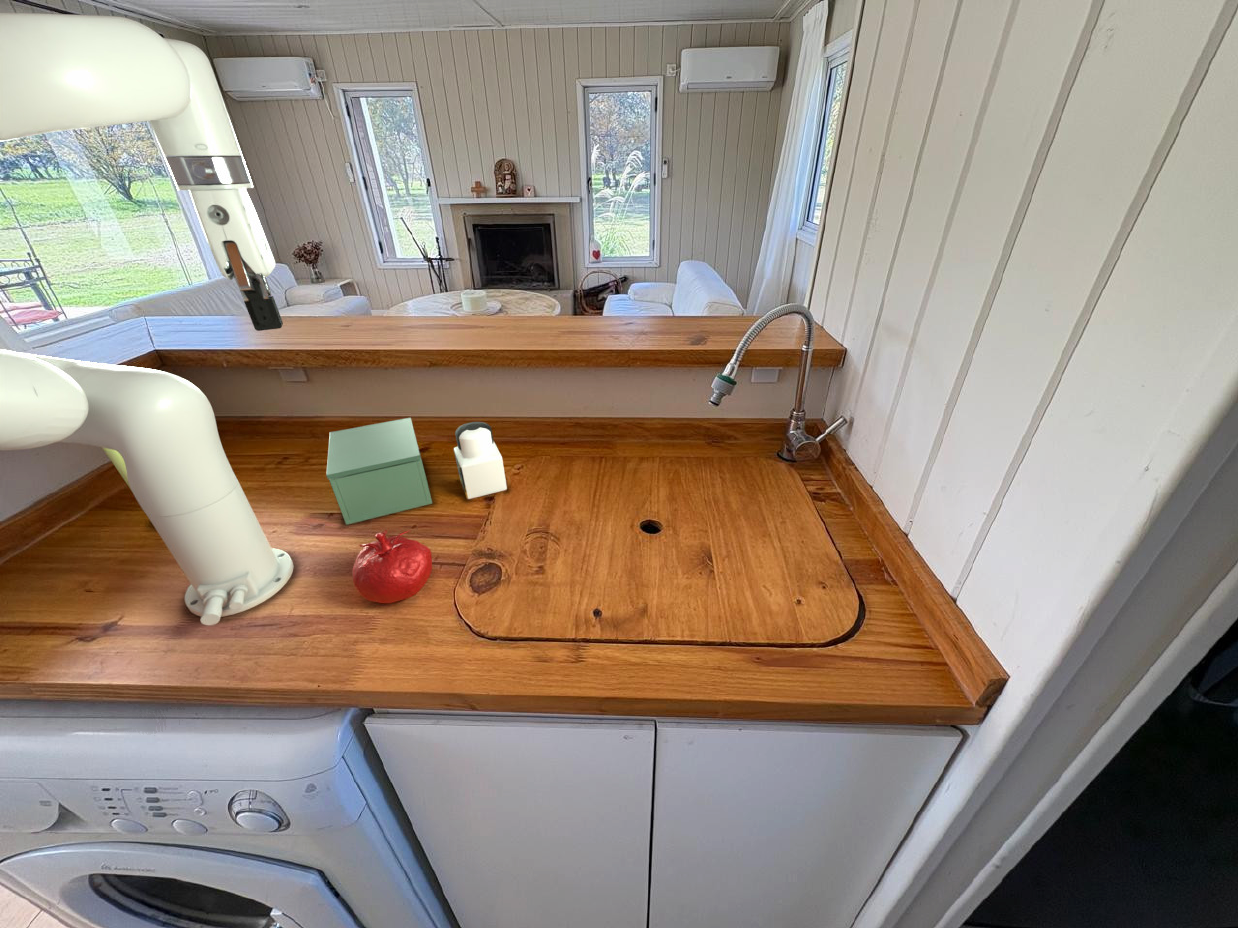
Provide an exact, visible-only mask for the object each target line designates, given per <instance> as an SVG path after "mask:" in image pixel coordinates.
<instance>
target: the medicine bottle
mask: <svg viewBox="0 0 1238 928" xmlns="http://www.w3.org/2000/svg"><path fill="white" fill-rule="evenodd" d="M454 435H455V439H456V444H457V446H455V447H453V453H454V457H455V462H456V466H457V471H458V476H459V480H460V483H461V486H462V489H463V491H464V495H465V498H466V499H467V500H472V499H477V498H480V497H485V496H487V495H492V494H497V493H501V492H504V491H507V489H508V486H507V480H506V474H505V473H506V472H505V467H504V460H503V456H502V454H501V453H500V451H499V448H498V447H497V444H496V443H495V441H494V435H493V430H492V427H491V425H489V424H488V423H486V422H483V421H471V422H467V423H464V424H462V425H459V427H457V429H456V430H455V432H454Z"/></svg>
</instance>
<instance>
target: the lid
mask: <svg viewBox="0 0 1238 928" xmlns="http://www.w3.org/2000/svg"><path fill="white" fill-rule="evenodd" d="M420 459H421V460H422V456H421V452H420V448H419V445H418V440H417V437H416V433H415V429H414V425H413V421H412V418H411V417H406V418H399V419H394V420H389V421H385V422H379V423H374V424H367V425H363V426H362V425H361V426H357V427H353V428H352V427H351V428H347V429H340V430H335V431H330V432H329V439H328V450H327V464H326V478H327V479H326V480H330V479H333V478H337V477H342V476H346V475H351V474H356V473H360V472H365V471H370V470H374V469H379V468H383V467H388V466H393V465H397V464H402V463H407V462H411V461H416V460H420Z"/></svg>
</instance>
